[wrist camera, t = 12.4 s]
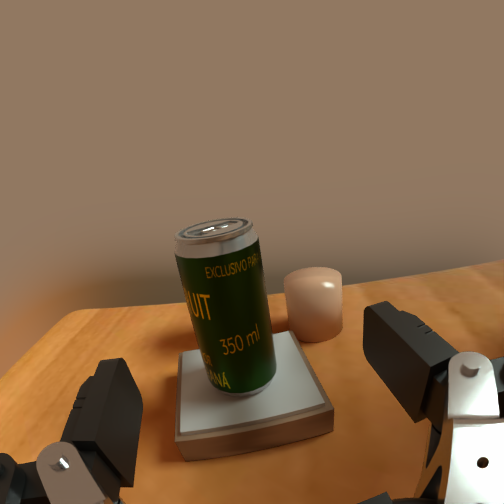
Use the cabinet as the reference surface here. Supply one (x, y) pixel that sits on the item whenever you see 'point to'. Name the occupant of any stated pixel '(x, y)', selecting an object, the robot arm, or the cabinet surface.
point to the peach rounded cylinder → (314, 303)
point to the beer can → (228, 303)
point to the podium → (250, 407)
